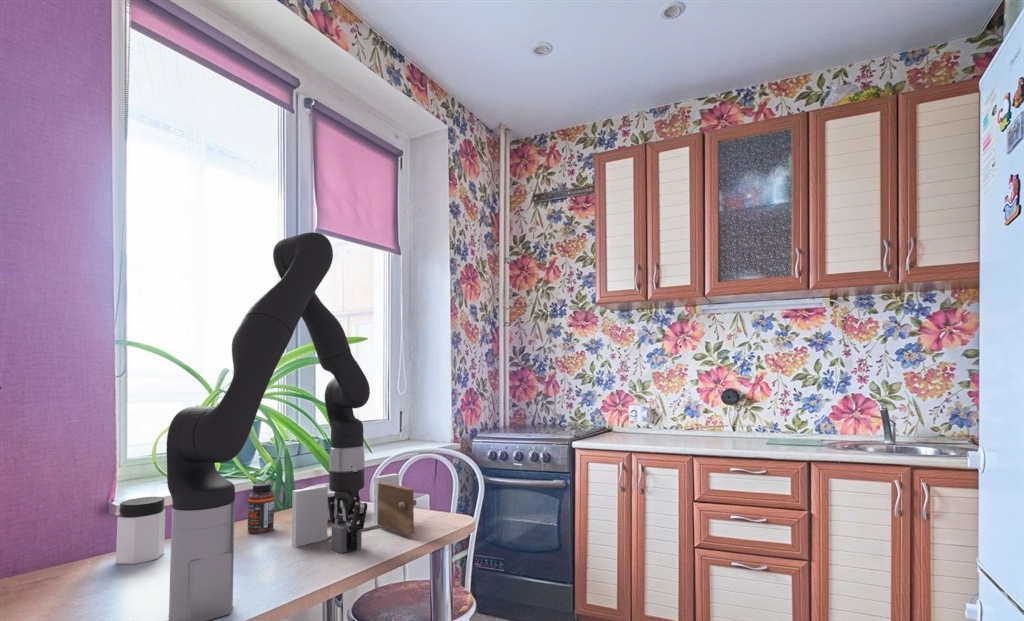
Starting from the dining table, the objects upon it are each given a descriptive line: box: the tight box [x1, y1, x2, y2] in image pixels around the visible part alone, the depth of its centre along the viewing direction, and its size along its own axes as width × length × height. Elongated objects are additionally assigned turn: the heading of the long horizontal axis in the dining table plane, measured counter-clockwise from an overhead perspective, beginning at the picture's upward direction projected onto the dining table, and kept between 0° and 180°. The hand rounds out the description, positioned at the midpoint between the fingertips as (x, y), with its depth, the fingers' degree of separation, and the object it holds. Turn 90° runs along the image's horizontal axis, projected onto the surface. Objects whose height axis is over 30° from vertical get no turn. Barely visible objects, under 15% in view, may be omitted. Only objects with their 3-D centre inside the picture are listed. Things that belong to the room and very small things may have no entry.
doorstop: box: [331, 520, 363, 554], centre depth 128 cm, size 4×5×5 cm
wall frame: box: [291, 473, 400, 548], centre depth 140 cm, size 2×27×12 cm, turn 134°
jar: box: [115, 496, 166, 565], centre depth 125 cm, size 9×8×12 cm
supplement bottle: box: [247, 482, 275, 534], centre depth 144 cm, size 6×6×11 cm
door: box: [378, 482, 418, 535], centre depth 140 cm, size 4×14×10 cm, turn 44°
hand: (346, 546), depth 127 cm, fingers closed on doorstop, 4 cm apart
